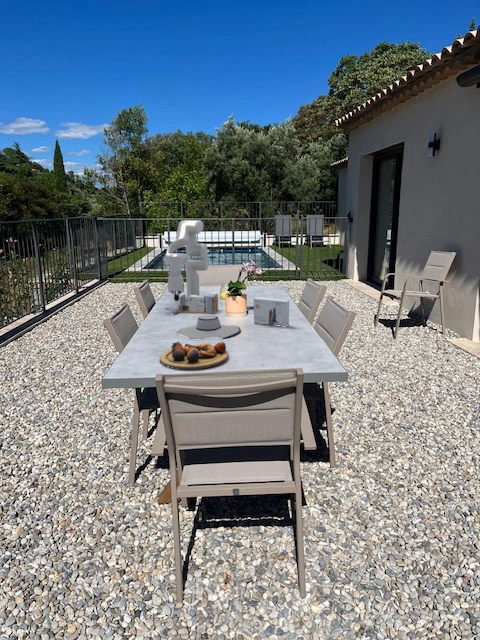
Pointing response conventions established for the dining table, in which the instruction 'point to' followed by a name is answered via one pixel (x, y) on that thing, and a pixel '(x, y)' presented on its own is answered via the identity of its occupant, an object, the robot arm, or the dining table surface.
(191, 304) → the light bulb box
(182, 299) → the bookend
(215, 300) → the shelf
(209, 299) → the book
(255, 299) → the skincare box
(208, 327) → the sun hat
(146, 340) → the dining table surface
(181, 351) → the wooden plate with food
